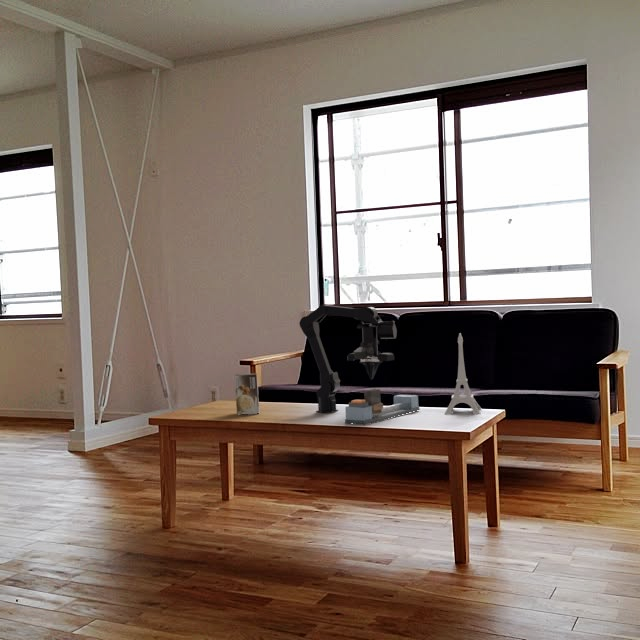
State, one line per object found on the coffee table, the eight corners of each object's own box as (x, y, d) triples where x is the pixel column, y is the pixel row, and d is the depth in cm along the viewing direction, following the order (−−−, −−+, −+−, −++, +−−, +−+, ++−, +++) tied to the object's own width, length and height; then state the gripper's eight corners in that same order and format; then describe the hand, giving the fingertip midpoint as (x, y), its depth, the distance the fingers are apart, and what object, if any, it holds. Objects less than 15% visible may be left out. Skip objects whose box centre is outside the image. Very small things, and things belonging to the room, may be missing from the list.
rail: (344, 423, 282) (344, 402, 282) (399, 409, 311) (399, 390, 311) (365, 424, 277) (364, 403, 277) (419, 410, 306) (418, 391, 306)
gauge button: (351, 406, 281) (351, 400, 281) (357, 404, 284) (357, 399, 284) (359, 406, 279) (359, 401, 279) (365, 405, 282) (365, 399, 282)
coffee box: (259, 412, 322) (258, 372, 322) (259, 414, 316) (257, 374, 315) (237, 413, 322) (235, 373, 322) (236, 415, 315) (234, 375, 315)
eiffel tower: (446, 409, 307) (443, 333, 307) (481, 409, 304) (478, 331, 304) (444, 414, 294) (440, 334, 294) (480, 414, 291) (477, 333, 291)
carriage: (362, 414, 288) (361, 390, 288) (372, 411, 292) (371, 389, 292) (374, 414, 285) (373, 391, 284) (383, 412, 289) (382, 389, 289)
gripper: (338, 340, 307) (340, 380, 307) (378, 340, 295) (380, 381, 296) (354, 338, 315) (356, 377, 316) (394, 338, 304) (396, 378, 304)
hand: (371, 379), depth 308 cm, fingers closed
